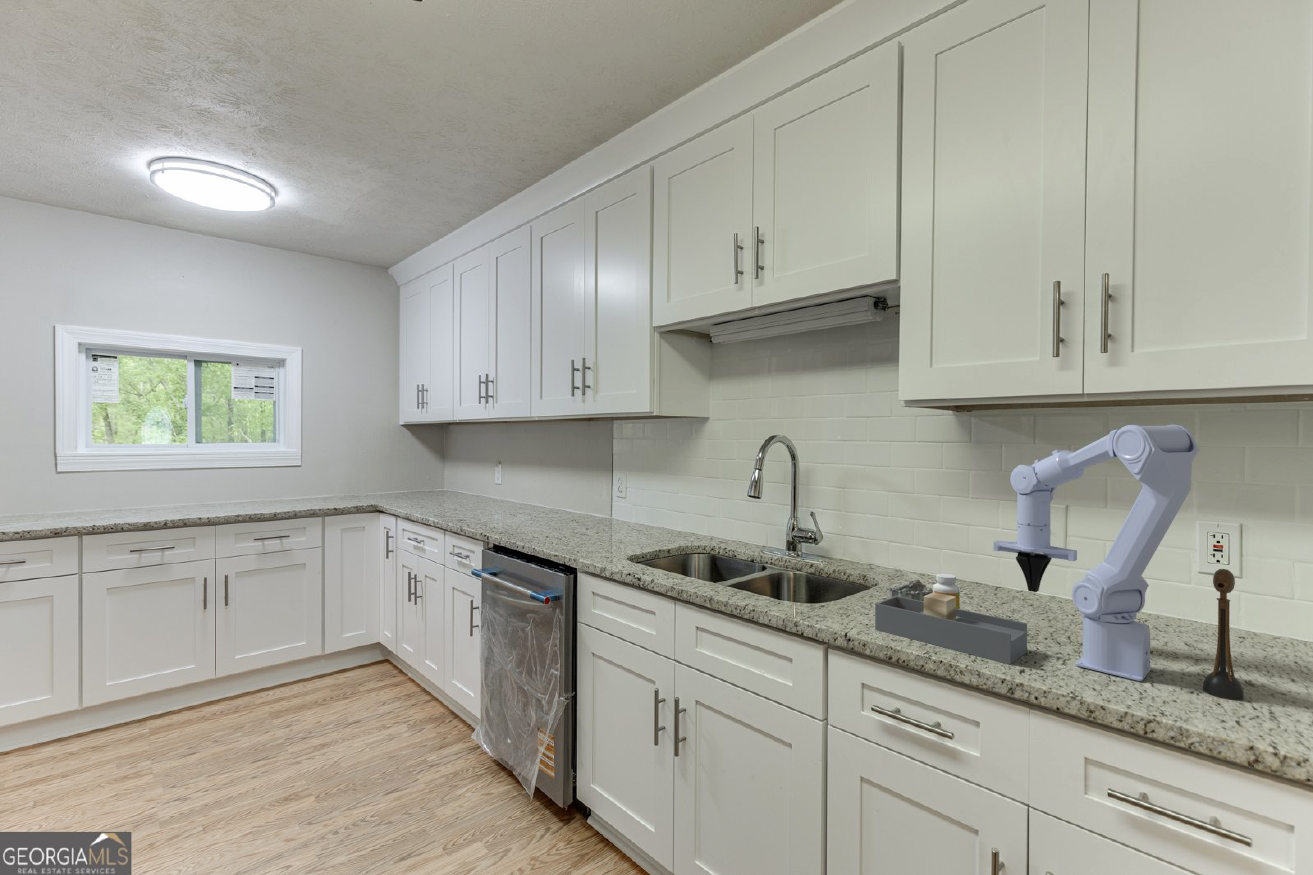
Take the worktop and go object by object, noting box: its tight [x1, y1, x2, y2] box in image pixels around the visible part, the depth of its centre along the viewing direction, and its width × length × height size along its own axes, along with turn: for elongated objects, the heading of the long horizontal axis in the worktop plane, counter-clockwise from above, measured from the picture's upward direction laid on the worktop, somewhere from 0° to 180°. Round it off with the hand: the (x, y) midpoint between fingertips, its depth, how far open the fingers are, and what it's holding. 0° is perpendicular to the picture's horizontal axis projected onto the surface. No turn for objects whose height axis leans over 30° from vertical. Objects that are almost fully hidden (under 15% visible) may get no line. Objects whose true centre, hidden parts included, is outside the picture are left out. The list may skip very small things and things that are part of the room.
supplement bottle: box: [932, 573, 961, 609], centre depth 135 cm, size 5×5×10 cm
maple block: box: [923, 592, 956, 620], centre depth 123 cm, size 4×4×4 cm
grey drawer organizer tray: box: [874, 596, 1028, 665], centre depth 121 cm, size 26×9×6 cm, turn 42°
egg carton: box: [885, 579, 933, 602], centre depth 151 cm, size 11×8×4 cm
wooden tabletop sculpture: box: [1202, 568, 1244, 701], centre depth 96 cm, size 6×5×20 cm
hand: (1033, 590), depth 123 cm, fingers closed
